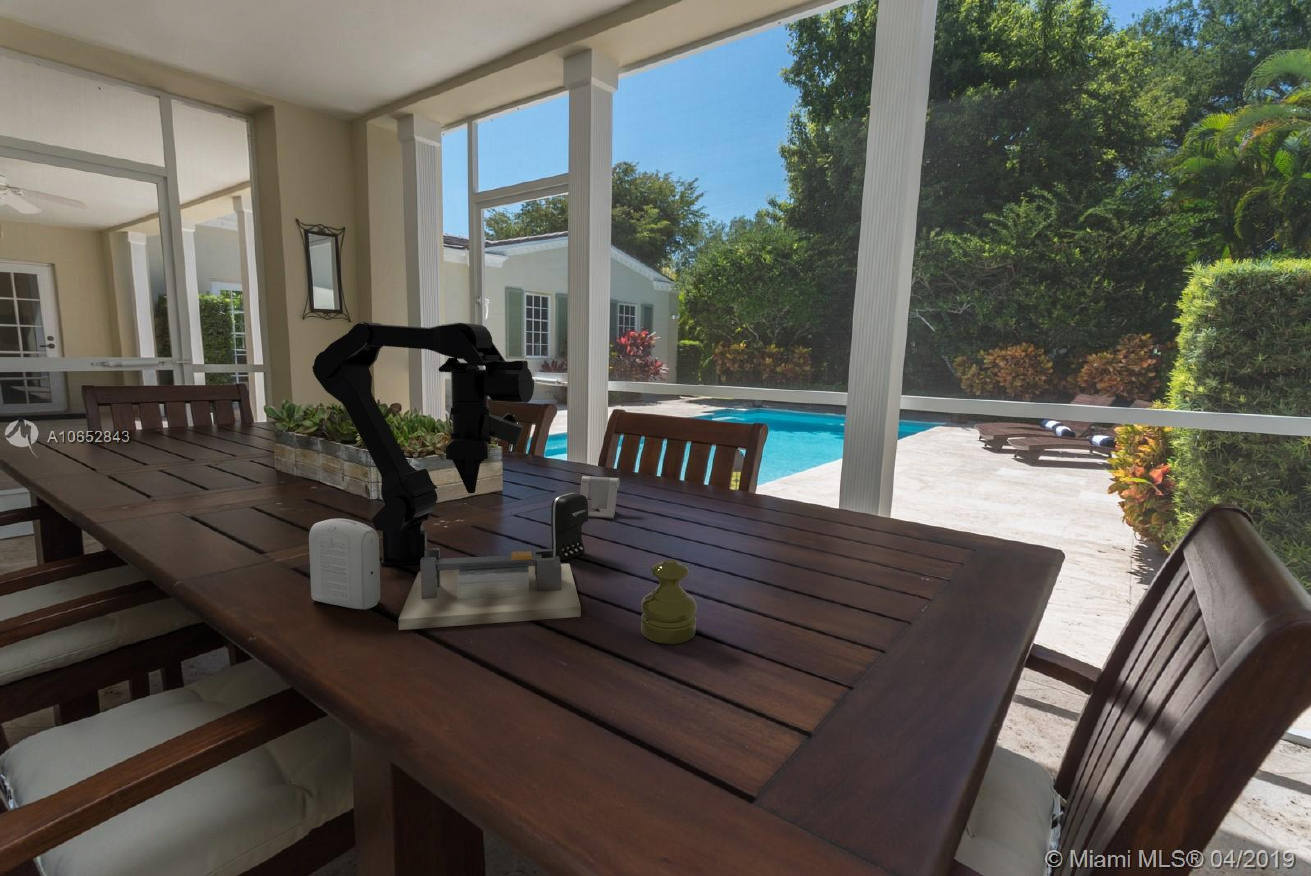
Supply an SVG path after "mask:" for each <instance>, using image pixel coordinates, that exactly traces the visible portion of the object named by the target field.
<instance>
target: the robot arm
mask: <svg viewBox="0 0 1311 876" xmlns="http://www.w3.org/2000/svg"><path fill="white" fill-rule="evenodd" d="M383 347H387V348H388V347H391V348H392V347H393V348H401V349H405V348H406V349H416V350H417V349H418V350H428V351H431V352H434V353H437V354H440V355H441V356H442V355H443V356H445V357H448V358H447V360H446V361H445V362H444V363H443V364H442V365H441V366H439V367H438V372H439V373H450V377H451V378H450V379H451V381H450V382H451V383H450V384H451V407H450V415H451V422H452V423H451V425H452V427H451V429H452V432H451V433H450V434H451V435H450V439H451V440H450V441H449V442H448V444H447V445H446V446H445V460H449V461H452V462H453V464H454V466H455V468H456V471H457V473H458V475H459V477H460V479H461V481H462V483H463V485H464V487H465V490H466V492H467V494H475V493H476V490H477V489H476V488H477V482H478V479H479V472H480V468H481V467H480V466H481V464H482V462H484V461H485V460H488V459H489V456H490V451H491V448H489V447H490V446H489V445H492V438H495V439H499V440H501V441H505V442H507V443H508V444H510V445H512V446H518V443H519V440H520V437H521V434H522V432H523V429H524V426H523V425H522V424H521V423H517V421H516V415H514V414H511V413H508V412H507V413H506V414H505V415H504V416H502V417H501V416H497V415H494V414H492V413H491V407H489V401H488V399H490V400H491V401H492V402H496V403H497V402H498V403H500V402H501V403H517V404H518V403H519V404H521V403H522V404H524V403H525V404H527V403H529V402H530V401H531V400H532V398H533V395H534V390H535V380H533V375H532V372H531V370H530V369H529V363H528V360H513V361H512V360H511V361H509V360H505V359H504V357H503V356H502V354H501V352H500V351H499V349H498V348H497V347H496V345H495V344H494V342H493V337H492V334H491V332H490V331H489V329H488V328H487V327H486V326H484V325H482V324H476V323H467V322H466V323H465V322H451V323H445V324H440V325H435V326H429V327H426V326H424V327H422V326H421V327H420V326H408V325H406V326H405V325H391V324H382V323H380V322H379V323H378V322H370V321H369V322H368V321H361V322H358V323H356V324H354V325H353V326H352V327H351V329H349V331H348V332H347V333H346V334H344V335H342V336H341V337H339V338H338V339H336V340H334V341H333V342H331V343H330V344H329V345H328V346H327V347H326V348H325V349H324V350H323V351H321V352H319V353H318V354H317V355H316V356H315V359H314V361H313V365H312V368H311V369H312V372H313V375H314V377H315V378H316V379H317V381H318V383H319V384H320V385H321V387H322V388H323V389H324V391H325V392H326V393H327V394H329V395H331V396H332V397H333V398H334V399H336V400H337V401H338V402H339V403H340V404H341V405H343V407H344V409H345V411H346V413H347V415H348V416H349V418H350V421H351V422H352V425H353V426H354V428H355V430H356V431H357V433H358V435H359V437H360V439H361V442H362V443H363V445H364V447H365V448H366V450H367V452H368V454H369V456H370V458H371V460H372V461H373V464H374V465H375V467H376V469H377V471H378V473H379V474H380V477H381V485H380V486H381V488H380V489H381V490H380V494H381V498H382V501H383V504H384V505H383V506H382V508H381V509H380V510H378V512H376V514H375V515H374V516H373V517H372V518H371V520H372V523H373V527H374V530H375V531H379V532H381V535H382V554H383V555H382V556H383V557H382V560H381V561H380V566H394V565H395V566H397V565H398V566H400V565H415V564H417V565H418V564H420V560H421V558H425V549H427V548H428V532H427V530H426V529H425V530H424V522H425V521H426V522H427V521H428V520H429V519H430V516H431V514H432V511H434V509H435V507H436V505H437V501H438V499H439V497H438V494H437V489H438V486H437V485H436V484H434V481H432V478H431V475H430V472H429V470H428V469H426V468H422V469H419V470H418V469H416V468H415V467H413V466H412V465H411V464H410V463H409V461H408V459H407V457H406V455H405V454H404V452H403V449H402V448H401V446H400V444H399V442H398V440H397V438H396V437H395V435H394V433H393V431H392V429H391V427H390V425H389V423H388V422H387V420H386V417H385V416H384V414H383V412H382V410H381V408H380V407H379V404H378V403H377V400H376V399H375V397H374V395H373V393H372V388H373V387H372V385H373V376H372V374H371V373H372V372H371V370H370V368H372V366H373V365H374V364H375V362H376V361H377V360H378V357H379V354H380V351H381V349H382V348H383ZM459 360H463V361H465V362H461V361H459ZM481 366H483V367H485V369H482V368H481V369H480V367H481Z"/></svg>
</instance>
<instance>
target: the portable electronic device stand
mask: <svg viewBox="0 0 1311 876" xmlns="http://www.w3.org/2000/svg"><path fill="white" fill-rule="evenodd" d="M620 481H621V480H620V477H607V476H590V475H589V476H588V475H582V477H581V482H580V490H579V494H581V495H584V496H585V497H586V498H587V500H588V499H589V490H590V497H591V498H590V499H591V506H592V507H591V508H592V510H596V509H598V510H599V511H592V510H591V511H590V508H589V507H588V518H601V519H614V518H615V511H616V502H617V493H618V488H619V487H620ZM599 506H602V507H605V508H600V507H599Z"/></svg>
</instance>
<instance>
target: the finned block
mask: <svg viewBox="0 0 1311 876" xmlns="http://www.w3.org/2000/svg"><path fill="white" fill-rule="evenodd" d="M522 596H529V567H528V566H525V567H504V568H484V569H463V570H459V571H458V575H457V601H460V600H476V599H491V598H507V597H522Z"/></svg>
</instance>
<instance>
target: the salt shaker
mask: <svg viewBox="0 0 1311 876" xmlns="http://www.w3.org/2000/svg"><path fill="white" fill-rule="evenodd" d="M650 570H651V574H652V575H653V576H654V577H655V578H656V579H657V580H658V582H659V585H657V587H656V588H654V589H653V590H652V591H651V592H649V593H648V594H646V595H645V596H644V597H643V598H642V599H641V603H640V605H641V607H640V608H641V611H642V612H643V613H642V614H641V616H640V619H641V621H640V622H641V623H640V631H641V634H642V636H643V637H645V639H647V640H650V641H651V642H654V643H656V644H657V643H658V644H663V645H678V644H682V643H686V642H688V641H690V640H691V639H693V638H694V637H695V636H696V628H697V627H696V624H697V616H695V614H696V613H697V609H698V608H697V607H698V603H697V601H696V600H695V598H693V596H692V595H690V594H689V593H687V591H686V590H685V589H683V587H682V586H681V585H680V584H681V581H683V579H684V578H686V577H688V575H689V572H690V570H689V568H688V566H686V565H685V564H684V563H681V562H679V561H677V560H676V559H672V558H669V559H668V558H667V559H665V560H663V561H659V562H657V563H655V564H654V565H652V567H651V569H650Z"/></svg>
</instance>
